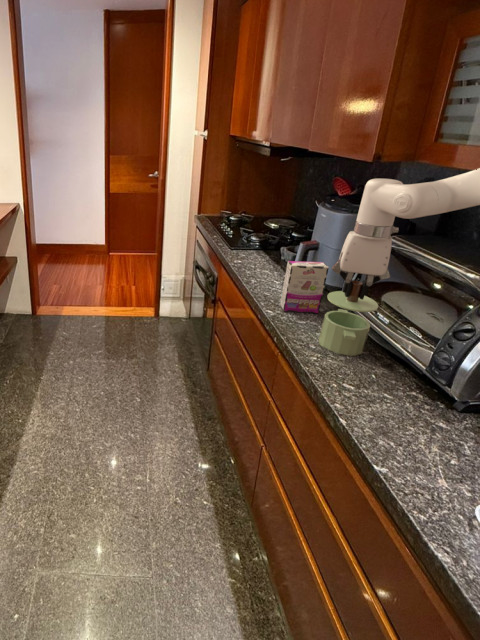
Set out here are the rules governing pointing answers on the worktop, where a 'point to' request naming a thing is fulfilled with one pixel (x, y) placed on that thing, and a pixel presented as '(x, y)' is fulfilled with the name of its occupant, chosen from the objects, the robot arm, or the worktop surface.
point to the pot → (344, 332)
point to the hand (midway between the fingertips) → (353, 295)
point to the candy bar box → (303, 286)
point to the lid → (353, 299)
